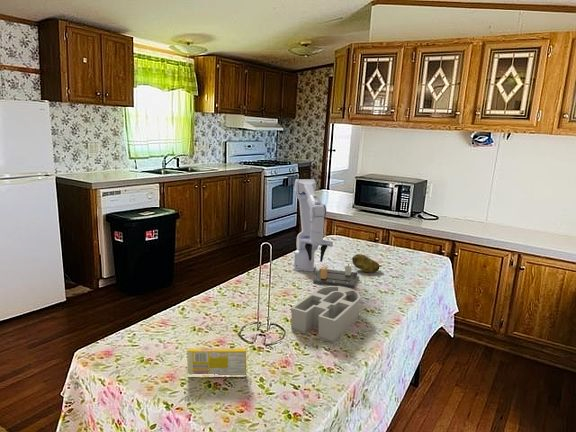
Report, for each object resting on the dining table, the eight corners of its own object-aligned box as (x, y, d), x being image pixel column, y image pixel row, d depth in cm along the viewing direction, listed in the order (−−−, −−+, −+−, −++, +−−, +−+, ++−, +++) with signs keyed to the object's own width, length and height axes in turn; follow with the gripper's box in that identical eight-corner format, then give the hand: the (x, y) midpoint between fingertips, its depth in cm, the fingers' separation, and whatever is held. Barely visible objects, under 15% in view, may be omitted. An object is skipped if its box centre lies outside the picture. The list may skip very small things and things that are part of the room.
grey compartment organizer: (289, 331, 143) (290, 307, 141) (326, 302, 166) (327, 282, 164) (333, 345, 134) (335, 320, 132) (365, 313, 158) (367, 292, 156)
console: (313, 283, 185) (313, 279, 185) (319, 271, 200) (319, 268, 200) (353, 288, 181) (353, 284, 181) (357, 275, 196) (357, 272, 196)
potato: (375, 276, 196) (376, 259, 195) (349, 270, 202) (350, 255, 201) (380, 270, 203) (381, 255, 202) (355, 266, 209) (356, 250, 208)
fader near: (320, 278, 186) (320, 268, 185) (321, 275, 190) (322, 266, 189) (325, 279, 186) (326, 269, 185) (327, 276, 189) (327, 266, 188)
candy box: (246, 374, 118) (246, 347, 116) (246, 378, 115) (246, 351, 114) (188, 374, 117) (188, 347, 115) (187, 378, 115) (186, 351, 113)
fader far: (344, 275, 191) (345, 265, 190) (345, 272, 195) (346, 263, 194) (350, 275, 191) (350, 266, 190) (351, 272, 194) (351, 263, 193)
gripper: (299, 231, 182) (298, 261, 185) (331, 235, 179) (330, 265, 181) (302, 228, 189) (301, 256, 192) (334, 231, 185) (332, 260, 188)
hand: (315, 260), depth 187 cm, fingers open, 4 cm apart
